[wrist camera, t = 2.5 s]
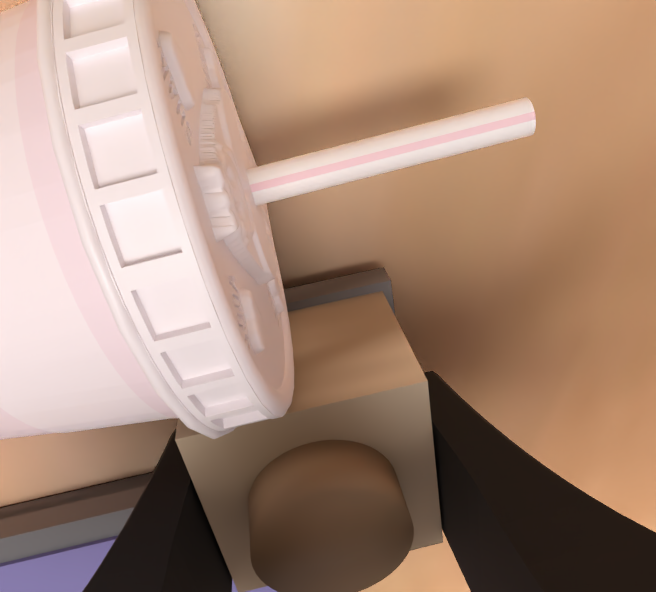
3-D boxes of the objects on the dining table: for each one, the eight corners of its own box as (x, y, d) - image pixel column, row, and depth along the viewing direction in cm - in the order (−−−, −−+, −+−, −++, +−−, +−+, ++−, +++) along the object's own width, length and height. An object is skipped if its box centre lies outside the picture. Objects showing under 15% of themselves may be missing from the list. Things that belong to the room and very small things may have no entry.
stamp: (383, 267, 12) (461, 409, 8) (403, 421, 14) (472, 594, 10) (177, 312, 12) (149, 484, 8) (230, 462, 14) (231, 656, 10)
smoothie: (-137, 442, 12) (503, 282, 12) (-617, 751, 6) (728, 432, 5) (-291, 140, 10) (444, -57, 10) (-1181, 119, 4) (664, -404, 4)
